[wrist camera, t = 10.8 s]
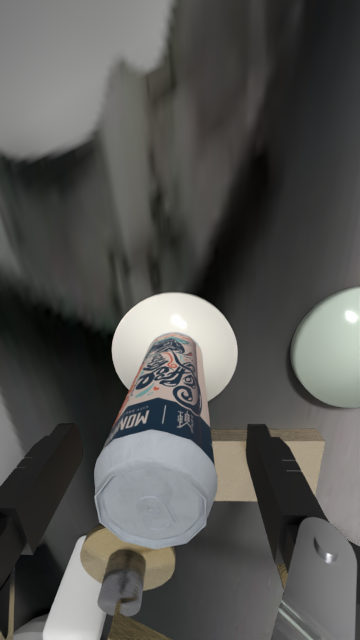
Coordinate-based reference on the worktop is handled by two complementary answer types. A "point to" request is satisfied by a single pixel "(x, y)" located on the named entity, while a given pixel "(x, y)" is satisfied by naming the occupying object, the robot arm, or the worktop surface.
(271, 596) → the worktop surface
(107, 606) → the balance
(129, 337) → the glossy white dome
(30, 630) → the decorative object
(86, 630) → the eye dropper bottle
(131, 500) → the beer can
